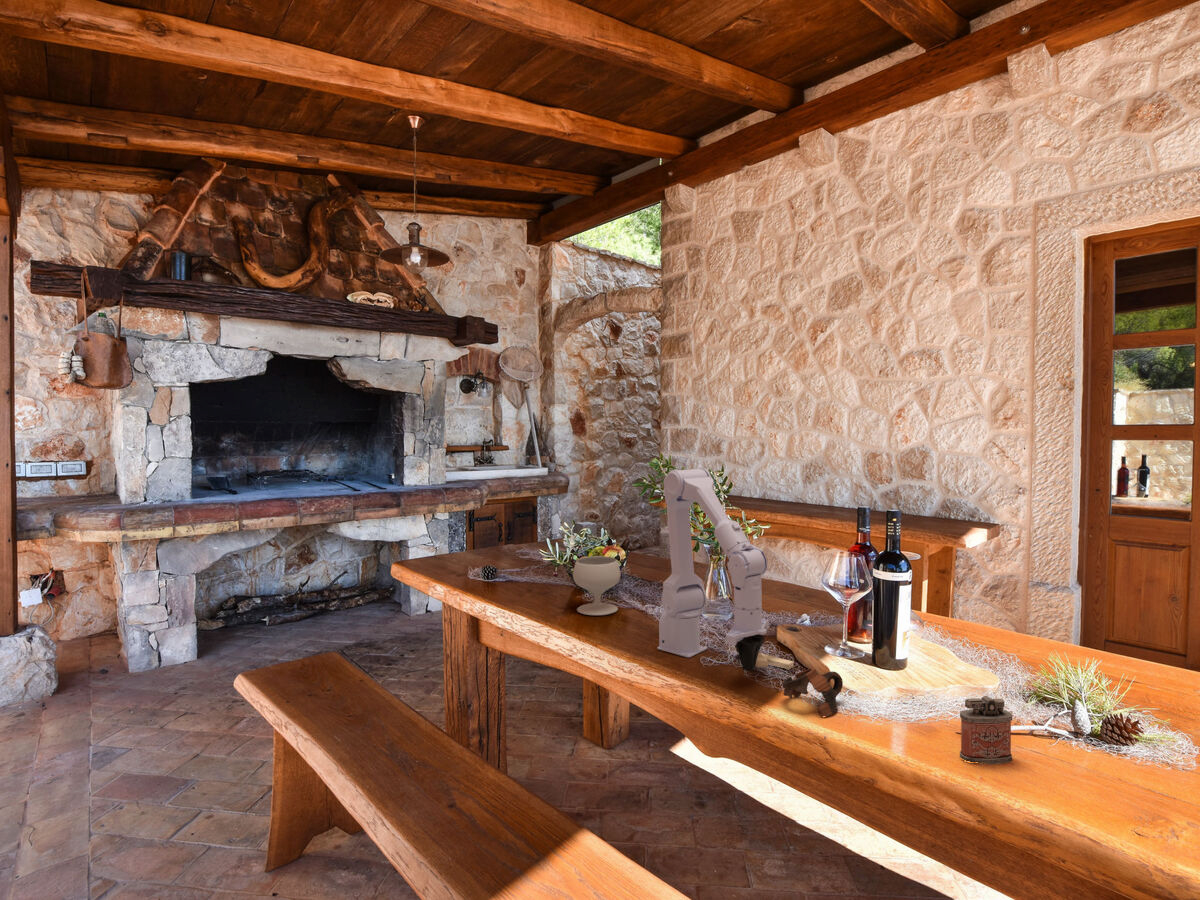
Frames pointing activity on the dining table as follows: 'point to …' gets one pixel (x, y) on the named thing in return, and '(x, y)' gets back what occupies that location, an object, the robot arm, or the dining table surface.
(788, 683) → the dark brown angled piece
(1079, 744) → the dining table surface
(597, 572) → the chalice
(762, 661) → the bar
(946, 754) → the dining table surface
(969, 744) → the lighter
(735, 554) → the robot arm
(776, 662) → the tongs base
